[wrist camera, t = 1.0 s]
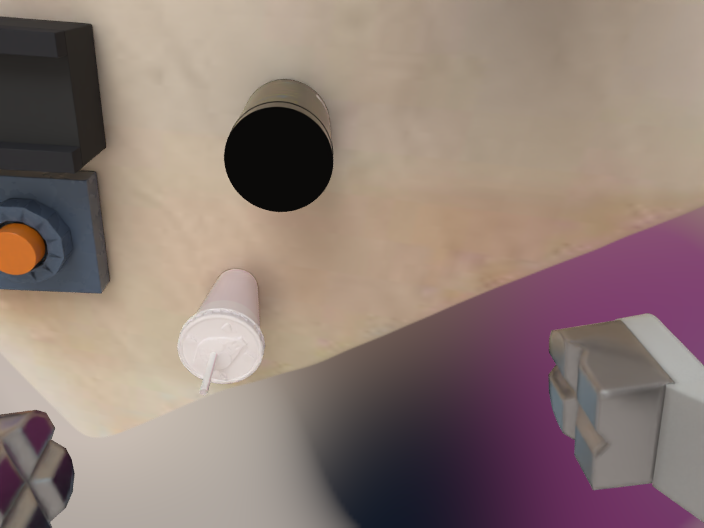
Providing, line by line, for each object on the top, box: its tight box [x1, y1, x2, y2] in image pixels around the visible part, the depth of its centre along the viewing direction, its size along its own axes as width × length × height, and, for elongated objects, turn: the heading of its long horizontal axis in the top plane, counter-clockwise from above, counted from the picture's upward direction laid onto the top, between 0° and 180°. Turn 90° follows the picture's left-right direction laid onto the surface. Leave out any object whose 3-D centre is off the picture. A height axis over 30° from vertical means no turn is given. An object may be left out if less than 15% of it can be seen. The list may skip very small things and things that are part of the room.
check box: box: [0, 169, 110, 293], centre depth 46 cm, size 10×10×4 cm
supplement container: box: [224, 79, 333, 212], centre depth 40 cm, size 7×7×10 cm
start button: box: [0, 223, 45, 275], centre depth 43 cm, size 4×4×2 cm
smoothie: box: [178, 269, 265, 395], centre depth 45 cm, size 6×6×14 cm
